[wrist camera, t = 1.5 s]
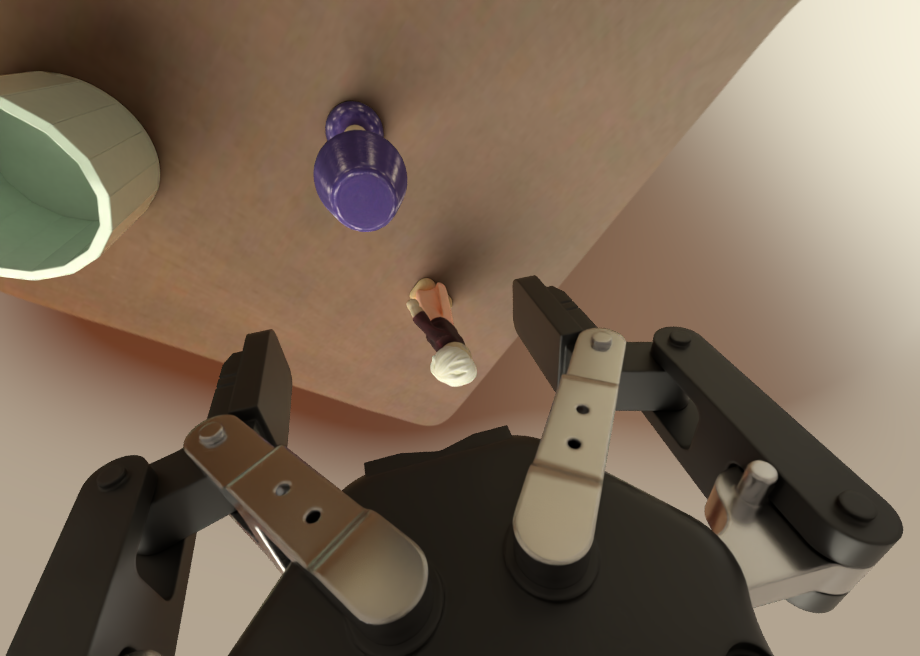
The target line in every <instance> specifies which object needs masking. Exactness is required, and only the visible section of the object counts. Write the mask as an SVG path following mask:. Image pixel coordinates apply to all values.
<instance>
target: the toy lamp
mask: <svg viewBox="0 0 920 656" xmlns="http://www.w3.org/2000/svg"><path fill="white" fill-rule="evenodd" d="M325 128H326V137H327V142H326V143H325V145H324V146H323V147H322V148H321V150H320V151H319V153H318V155H317V158H316V161H315V165H314V182H315V187H316V190H317V193H318V195H319V197H320V199H321V201H322V202H323V204H324V205H325V207H326V208H327V209H328V210H329V211H330V212H331V213H332V214H333V215H334V217H336V218H337V220H338V221H340V222H341V223H342V224H343V225H345V226H346V227H348V228H350V229H353V230H356V231H360V232H371V231H375V230H378V229H380V228H382V227H384V226H386V225H387V224H388V223H389V222H390V221H391V220H392V219H393V217H394V216H395V214H396V213H397V211H398V209H399V207H400V205H401V203H402V201H403V199H404V196H405V193H406V189H407V172H406V168H405V165H404V162H403V159H402V157H401V156H400V154H399V152H398V151H397V150H396V148H395V147H394V146H393V145H392V144H391V143H390V142H389V141H388V140H386V139H385V138H383V137H384V132H383V127H382V123H381V121H380V118H379V117H378V115H377V114H376V113H375V111H373V110H372V109H371V108H370V107H368V106H367V105H365V104H363V103H360V102H355V101H346V102H343V103H341V104H339V105H337V106H336V107H335V108H334V109H333V110H332V111H331V112H330V114H329V115H328V118H327V121H326V126H325Z"/></svg>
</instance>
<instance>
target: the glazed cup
mask: <svg viewBox="0 0 920 656" xmlns="http://www.w3.org/2000/svg"><path fill="white" fill-rule="evenodd" d="M159 183H160V165H159V160H158V156H157V153H156V150H155V148H154V145H153V143H152V141H151V139H150V137H149V136H148V134H147V132H146V131H145V129H144V128H143V127H142V125H141V124H140V123H139V122H138V120H137V119H136V118H135V117H134V116H133V115H132V114H131V113H130V112H129V111H128V110H127V109H126V108H125V107H124V106H123V105H122V104H121V103H119V102H118V101H117V100H116V99H114V98H113V97H111V96H110V95H108V94H107V93H105V92H104V91H102V90H100V89H99V88H97V87H95V86H93V85H91V84H89V83H87V82H84V81H82V80H80V79H77V78H74V77H71V76H67V75H63V74H58V73H53V72H43V71H32V72H23V73H13V74H4V75H0V276H1V277H9V278H17V279H26V280H41V279H47V278H53V277H59V276H64V275H70V274H74V273H76V272H77V271H79V270H80V269H82V268H83V267H85V266H86V265H88V264H89V263H91V262H93V261H94V260H96V259H97V258H99V257H100V256H101V255H102V254H103V253H104V252H105V251H106V250H107V249H108V248H109V247H110V246H111V245H112V244H113V243H114V242H115V241H116V240H117V239H118V238H119V237H120V236H121V235H122V234H123V233H124V232H125V231H126V230H127V229H128V228H129V227H130V226H131V225H132V224H133V223H134V222H135V221H136V220H137V219H138V218H139V217H140V216H141V215H142V214H143V213H144V212H145V211H146V210H147V208H148V206H149V205H150V204H151V202H152V201H153V199H154V198H155V196H156V193H157V191H158V187H159Z"/></svg>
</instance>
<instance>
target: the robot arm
mask: <svg viewBox="0 0 920 656" xmlns="http://www.w3.org/2000/svg"><path fill="white" fill-rule="evenodd" d="M513 321H514V326H515V329H516V332H517V334H518V335H519V337H520V338H521V340H522V342H523V343H524V344H525V346H526V348H527V349H528V350H529V352H530V354H531V355H532V357H533V359H534V360H535V362H536V363H537V365H538V366H539V368H540V369H541V371H542V372H543V374H544V375H545V377H546V379H547V380H548V382H549V383H550V384H551V386H552V388H553V389H554V391H555V392H556V394H555V397H554V401H553V404H552V407H551V410H550V413H549V416H548V419H547V422H546V425H545V428H544V432H543V435H542V438H541V439H538V438H534V437H529V436H518V435H511V433H510V431H509V429H508V426H507V425H506V426H502V427H498V428H495V429H491V430H487V431H484V432H480V433H476V434H472V435H471V436H469V437H467V438H465V439H463V440H461V441H459V442H457V443H455V444H453V445H451V446H449V447H447V448H445V449H443V450H441V451H435V452H417V453H400V454H396V455H393V456H388V457H385V458H381V459H378V460H374V461H370V462H366V463H364V466H365V475H364V476H362V477H360V478H358V479H357V480H355V481H354V482H352V483H351V484H349V485H348V486H347V487H345V489H343V490H342V491H341V490H340V489H339V488H337V487H336V486H335V485H334V484H332V483H331V482H330V481H329V480H327V479H326V478H325V477H324V476H322V475H321V474H320V473H318V472H317V471H316V470H315V469H313V468H312V467H311V466H310V465H308V464H307V463H306V462H305V461H303V460H302V459H301V458H299V457H298V456H297V455H296V454H294V453H293V452H292V451H291V450H289V449H288V448H287V444H288V432H289V420H290V408H291V395H292V376H291V372H290V368H289V365H288V363H287V361H286V358H285V356H284V353H283V351H282V348H281V346H280V343H279V341H278V338H277V336H276V334H275V332H274V331H273V330H272V329H270V330H265V331H261V332H256V333H251V334H247V335H246V339H245V343H244V347H243V351H241V352H237V353H233V354H232V355H231V356H230V357H229V358H228V360H227V361H226V362H225V363H224V364H223V367H222V369H221V373H220V376H219V377H220V379H219V380H218V383H217V389H216V390H215V393H214V397H213V400H212V404H211V407H210V410H209V414H208V417H207V420H205V421H203V422H202V423H200V424H199V425H197V426H196V427H195V428H194V429H192V430H191V432H190V433H189V434H188V435H187V437H186V439H185V441H184V445H183V446H184V447H183V448H182V449H180V450H179V451H177V452H175V453H173V454H170V455H168V456H166V457H164V458H162V459H160V460H157V461H155V462H153V463H151V464H148V462H147V461H146V460H145V459H144V458H143V457H141V456H138V455H130V456H124V457H121V458H118V459H115V460H113V461H111V462H109V463H107V464H106V465H104V466H102V467H101V468H99V469H98V470H97V471H95V472H94V473H93V474H92V475H91V476H90V477H89V478H88V479H87V481H86V482H85V483H84V484H83V486H82V488H81V490H80V492H79V494H78V497H77V499H76V501H75V503H74V505H73V508H72V510H71V512H70V514H69V516H68V519H67V521H66V523H65V525H64V528H63V530H62V532H61V534H60V537H59V539H58V541H57V543H56V545H55V548H54V550H53V552H52V554H51V557H50V559H49V561H48V563H47V565H46V568H45V570H44V572H43V574H42V576H41V578H40V581H39V583H38V585H37V587H36V590H35V592H34V594H33V596H32V598H31V601H30V603H29V605H28V607H27V610H26V612H25V614H24V616H23V618H22V621H21V623H20V625H19V627H18V630H17V632H16V634H15V636H14V638H13V641H12V643H11V645H10V647H9V649H8V652H7V654H6V656H175V651H176V645H177V640H178V634H179V628H180V623H181V617H182V612H183V606H184V601H185V595H186V590H187V584H188V578H189V573H190V567H191V562H192V556H193V550H194V545H195V539H196V533H197V532H198V531H199V530H201V529H203V528H205V527H207V526H209V525H210V524H212V523H214V522H216V521H218V520H219V519H221V518H223V517H225V516H227V515H229V516H230V517H231V518H232V519H233V520H234V521H235V522H236V523H237V524H238V525H239V526H240V527H241V528H242V529H243V531H244V532H245V533H246V534H247V535H248V536H249V537H250V538H251V539H252V540H253V541H254V542H255V543H256V545H258V547H259V548H260V549H261V550H262V551H263V552H264V553H265V554H266V555H267V556H268V558H269V559H270V560H271V561H272V563H273V564H274V565H275V567H276V568H277V569H278V570H279V571H280V573H281V574H282V576H281V577H280V579H279V580H278V582H277V583H276V585H275V586H274V588H273V589H272V591H271V592H270V594H269V595H268V597H267V598H266V600H265V601H264V603H263V604H262V606H261V607H260V609H259V611H258V612H257V613H256V615H255V616H254V618H253V619H252V621H251V622H250V624H249V625H248V627H247V628H246V630H245V631H244V632H243V634H242V635H241V637H240V638H239V640H238V641H237V643H236V644H235V646H234V647H233V649H232V650H231V652H230V653H229V655H228V656H774V655H773V654H772V652H771V650H770V648H769V646H768V644H767V642H766V640H765V638H764V636H763V634H762V631H761V629H760V627H759V624H758V622H757V619H756V616H755V613H754V610H753V608H756V607H759V606H763V605H766V604H770V603H773V602H777V601H780V600H784V599H785V600H787V601H788V602H789V603H791V604H793V605H794V606H796V607H798V608H800V609H803V610H805V611H809V612H813V613H825V612H829V611H831V610H832V609H834V607H835V606H836V605H837V604H838V603H839V602H840V601H841V600H842V599H843V598H844V597H845V596H846V595H847V594H848V592H850V590H851V589H852V588H853V587H854V586H855V585H856V584H857V583H858V582H859V581H860V580H861V579H862V578H863V577H864V576H865V575H866V574H867V573H868V572H869V571H870V569H872V567H873V566H874V565H875V564H876V563H877V562H878V561H879V560H880V559H881V558H882V557H883V556H884V555H885V554H886V553H887V552H888V551H889V550H890V548H892V546H893V545H894V544H895V543H896V542H897V541H898V540H899V539H900V538H901V536H902V534H903V526H902V522H901V520H900V517H899V516H898V514H897V513H896V511H895V510H894V509H893V508H892V506H891V505H890V504H889V503H887V501H886V500H884V499H883V498H882V497H881V496H880V495H879V494H877V492H875V491H874V490H873V489H872V488H871V487H870V486H869V485H868V484H866V483H865V482H864V481H863V480H862V479H861V478H860V477H858V476H857V475H856V474H855V473H854V472H853V471H852V470H851V469H850V468H848V467H847V466H846V465H845V464H844V463H843V462H842V461H841V460H839V459H838V458H837V457H836V456H835V455H834V454H833V453H832V452H831V451H829V450H828V449H827V448H826V447H825V446H824V445H823V444H821V443H820V442H819V441H818V440H817V439H816V438H815V437H814V436H812V435H811V434H810V433H809V432H808V431H807V430H806V429H805V428H804V427H802V426H801V425H800V424H799V423H798V422H797V421H796V420H795V419H794V418H792V417H791V416H790V415H789V414H788V413H787V412H786V411H784V410H783V409H782V408H781V407H780V406H779V405H778V404H777V403H776V402H774V401H773V400H772V399H771V398H770V397H769V396H768V395H767V394H765V393H764V392H763V391H762V390H761V389H760V388H759V387H758V386H756V385H755V384H754V383H753V382H752V381H751V380H750V379H748V378H747V377H746V376H745V375H744V374H743V373H742V372H741V371H739V370H738V369H737V368H736V367H735V366H734V365H733V364H732V363H731V362H730V361H728V360H727V359H726V358H725V357H724V356H723V355H722V354H721V353H719V352H718V351H717V350H716V349H715V348H714V347H713V346H712V345H710V344H709V343H708V342H707V341H706V340H705V339H704V338H702V337H701V336H700V335H699V334H697V333H695V332H694V331H692V330H689V329H686V328H681V327H665V328H662V329H659V330H658V331H656V333H655V334H654V337H653V342H626V341H625V339H624V338H623V337H622V336H621V335H620V334H619V333H617V332H615V331H613V330H610V329H606V328H598V327H597V326H596V325H595V324H594V323H593V322H592V321H591V320H590V319H589V318H588V317H587V316H586V315H585V313H584V312H583V311H582V310H581V309H580V308H578V306H577V305H576V304H575V303H574V302H572V299H571V298H570V297H569V296H568V295H567V294H566V293H565V292H564V291H562V290H560V289H558V288H556V287H553V286H549V287H546V286H545V285H544V284H543V283H542V282H541V281H540V279H539V278H538V277H537V276H535V275H534V276H529V277H524V278H519V279H515V280H514V281H513ZM615 411H642V413H643V414H644V415H645V417H646V418H647V419H648V421H649V422H650V423H651V425H652V426H653V427H654V428H655V430H656V431H657V433H658V434H659V435H660V437H661V438H662V439H663V441H664V442H665V443H666V445H667V446H668V447H669V449H670V450H671V451H672V453H673V454H674V456H675V457H676V458H677V460H678V461H679V462H680V463H681V465H682V466H683V468H684V469H685V470H686V472H687V473H688V474H689V475H690V477H691V478H692V479H693V481H694V482H695V484H696V485H697V486H698V488H699V489H700V490H701V492H702V493H703V494H704V496H705V497H706V498H707V502H706V505H705V511H704V512H705V517H706V520H707V522H708V524H709V526H710V528H711V529H710V528H708V527H707V526H706V525H704V524H703V523H702V522H700V521H699V520H697V519H695V518H693V517H692V516H690V515H688V514H686V513H684V512H682V511H680V510H679V509H677V508H675V507H673V506H671V505H669V504H667V503H665V502H663V501H661V500H659V499H657V498H655V497H654V496H652V495H650V494H648V493H646V492H644V491H642V490H640V489H638V488H636V487H634V486H633V485H631V484H628V483H627V482H625V481H623V480H621V479H619V478H617V477H615V476H613V475H611V474H610V473H607V472H606V471H605V467H606V461H607V456H608V449H609V444H610V437H611V432H612V426H613V420H614V413H615Z"/></svg>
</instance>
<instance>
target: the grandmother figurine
mask: <svg viewBox="0 0 920 656" xmlns="http://www.w3.org/2000/svg"><path fill="white" fill-rule="evenodd" d="M410 298H411V299H410V300H409V301H408V302H407V308H408V309H409V310H410V311H411V315H412V317H413V321H414V323H415V324H416V325H417V326H418V327H419V328H420V329H421V330H422V331H423V332H424V333H425V334H426V338H427V341H428V342H429V343H430V344H431V345H432V347H433V348H434V349H435V351H436V352H437V353H436V355H434V356H432V363H431V372H432V374H433V375H434V376H435V377H436V378H437V379H438V380H439V381H441V382H444V383H446V384H448V385H450V386H453V387H456V386H461V385H464V384H468V383H470V382H472V381H473V380H474V378H475V377H476V375H477V369H476V366H475V364H474V362H473V360H472V356H471V352H470V350H469V349H468V348H467V347H466V346H465V343H464V341H463V339H462V337H461V336H460V335H459V334H458V332H457V330H456V328H455V327H454V322H453V318H452V313H451V307H452V299H451V298H450V296H448V294H447V291H446V287H445V286H444V285H443V284H442V283H437V284H435V283H434V282H433V281H432V280H431V279H429V278H423V279H421V280H420V281H419V282H418V283H417V284H416V285H415V287H414V288H413V289H412V291H411V292H410Z"/></svg>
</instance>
